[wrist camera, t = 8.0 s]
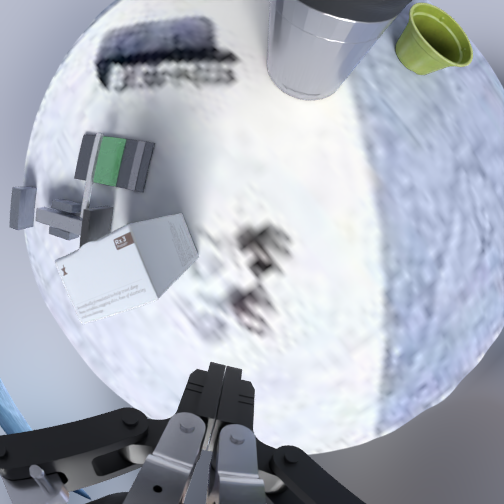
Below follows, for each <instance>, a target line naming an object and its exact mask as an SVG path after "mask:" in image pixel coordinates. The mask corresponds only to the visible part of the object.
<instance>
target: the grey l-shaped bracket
mask: <svg viewBox="0 0 504 504" xmlns="http://www.w3.org/2000/svg"><path fill="white" fill-rule="evenodd" d="M103 135H104V134H102V133H96V137H95V141H94V145H93V149H92V154H91V158H90V163H89V168H88V173H87V178H86V183H85V189H84V195H83V202H82V209H81V217H79V216H76V215H72V214H69V213H65V212H61V211H58V210H54V209H51V208H47V207H41V208H37V210H36V221H37V222H40V223H43V224H46V225H49V226H52V227H55V228H59V229H62V230H65V231H68V232H71V233H74V234H77V235H81V237H80V247H81V246H82V245H84V244H85V243H88V242H91V241H95V240H97V239H99V238H101V237H103V236H105V235H107V234H109V233H110V227H111V220H112V213H113V207H111V206H101V207H95V208H89V203H90V197H91V191H92V185H93V180H94V175H95V170H96V165H97V160H98V156H99V151H100V147H101V143H102V139H103Z"/></svg>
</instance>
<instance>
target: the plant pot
mask: <svg viewBox="0 0 504 504" xmlns="http://www.w3.org/2000/svg"><path fill="white" fill-rule="evenodd" d="M396 54H397V56H398V58H399V60H400V61H401V62H402V64H403V65H404V66H405V67H406V68H407V69H409V70H412V71H414V72H415V73H416V74H419V75H426V74H429V73H432V72H434V71H437V70H440V69H443V68H446V67H449V66H458V67H465V66H467V65H469V64H470V63H471V61H472V59H473V50H472V47H471V44H470V41H469V39H468V37H467V35H466V34H465V32H464V31H463V29H462V28H461V27H460V26H459V24H458V23H457V22H456V21H455V20H454V19H453V18H452V17H451V16H449V15H448V14H447V13H446V12H444V11H443V10H441V9H439V8H438V7H436V6H433V5H431V4H427V3H416V4H414V5H413V6H412V7H411V9H410V12H409V22H408V24H407V26H406V28H405V29H404V31H403V33H402V35H401V36H400V38H399V40H398V41H397V43H396Z"/></svg>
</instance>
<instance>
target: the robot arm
mask: <svg viewBox="0 0 504 504" xmlns="http://www.w3.org/2000/svg"><path fill="white" fill-rule="evenodd" d="M411 1H412V0H270V12H269V36H268V59H267V68H268V73H269V75H270V77H271V79H272V81H273V82H274V83H275V85H276V86H277V87H278V88H279V89H281V90H282V91H283V92H285V93H286V94H288V95H290V96H292V97H295V98H298V99H303V100H319V99H323V98H326V97H328V96H330V95H332V94H333V93H334V92H335V91H336V90H337V89H338V88H339V87H340V86H341V84H342V83H343V82H344V81H345V79H346V78H347V77H348V76H349V74H350V73H351V72H352V71H353V69H354V68H355V67H356V66H357V64H358V63H359V62H360V61H361V60H362V58H363V57H364V56H365V55H366V53H367V52H368V51H369V50H370V48H371V47H372V46H373V45H374V44H375V42H376V41H377V40H378V39H379V38H380V36H381V35H382V34H383V32H384V31H385V30H386V29H387V28H388V26H389V25H390V24H391V23H392V22H393V20H394V19H395V18H396V17H397V16H398V14H399V13H400V12H401V11H402V10H403V9H404V8H405V6H406V5H407V4H408V3H410V2H411ZM225 367H226V366H225V365H221V364H217V363H214V362H211V363H210V366H209V370H208V372H207V371H203V370H200V369H196V370H195V371H194V372H193V373H191V374H190V377H189V380H188V383H187V385H186V388H185V390H184V393H183V396H182V399H181V401H180V404H179V407H178V410H177V412H176V413H175V415H173V416H172V417H171V418H168V419H165V420H153V419H147V417H146V416H145V414H144V413H142V412H141V411H139V410H137V409H134V408H121V409H118V410H114V411H111V412H108V413H105V414H101V415H97V416H94V417H90V418H86V419H83V420H79V421H75V422H71V423H67V424H62V425H58V426H53V427H49V428H44V429H39V430H33V431H28V432H22V433H15V434H9V435H2V436H0V476H1V477H2V479H3V482H4V484H5V487H6V489H7V492H8V494H9V497H10V499H11V501H12V503H13V504H67V502H68V500H69V492H70V491H74V490H78V489H81V488H84V487H88V486H91V485H94V484H97V483H100V482H103V481H106V480H109V479H112V478H114V477H117V476H120V475H123V474H125V473H128V472H130V471H133V470H135V469H138V468H140V467H141V470H140V471H139V473H138V475H137V477H136V479H135V481H134V483H133V485H132V487H131V489H130V491H129V492H121V493H115V494H111V495H108V496H105V497H102V498H100V499H97V500H94V501H91V502H89V503H86V504H183V502H184V499H185V496H186V492H187V490H188V487H189V484H190V481H191V478H192V475H193V472H194V469H195V466H196V463H197V462H198V460H199V458H200V455H201V451H202V449H203V450H206V448H207V445H208V441H209V438H210V441H209V446H208V451H212V458H211V461H210V464H209V474H208V486H207V498H206V504H366V503H364V502H363V501H362V500H360V499H359V498H358V497H356V496H355V495H354V494H353V493H351V492H350V491H349V490H348V489H346V488H345V487H344V486H343V485H341V484H340V483H339V482H338V481H337V480H335V479H334V478H333V477H332V476H331V475H329V474H328V473H327V472H326V471H325V470H323V468H321V467H320V466H319V465H318V464H317V463H316V462H315V461H314V460H312V459H311V458H310V457H309V456H308V455H307V454H306V453H305V452H304V451H303V450H301V449H300V448H297V447H295V446H289V445H287V446H282V447H279V448H278V449H275V448H273V447H270V446H268V445H266V444H264V443H262V442H260V441H259V440H258V439H257V438H256V436H255V435H254V432H253V416H254V394H255V389H254V387H253V385H252V383H251V382H249V381H245V380H241V375H242V369H238V368H234V367H230V366H227V367H226V371H225ZM224 372H225V374H224ZM223 377H224V378H223ZM210 434H211V436H210Z"/></svg>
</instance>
